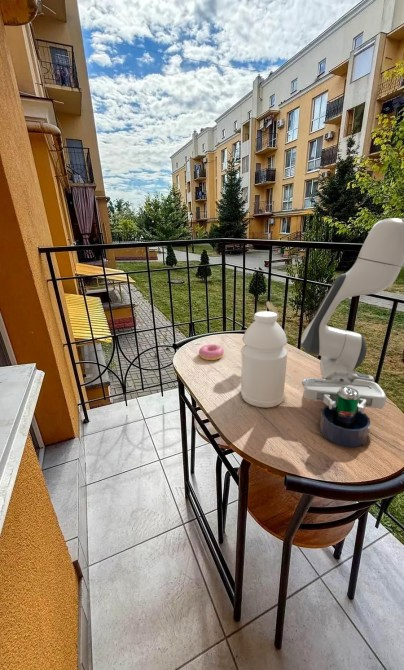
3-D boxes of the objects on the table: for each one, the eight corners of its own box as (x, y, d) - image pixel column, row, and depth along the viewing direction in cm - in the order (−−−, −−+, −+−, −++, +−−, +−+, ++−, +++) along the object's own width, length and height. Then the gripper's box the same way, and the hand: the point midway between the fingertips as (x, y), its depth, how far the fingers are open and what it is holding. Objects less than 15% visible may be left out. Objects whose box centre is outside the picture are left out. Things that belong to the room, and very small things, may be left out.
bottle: (289, 391, 94) (295, 310, 84) (277, 413, 83) (283, 323, 73) (249, 381, 101) (251, 305, 91) (233, 401, 90) (233, 317, 80)
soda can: (333, 435, 73) (340, 395, 68) (330, 422, 77) (336, 384, 73) (355, 437, 71) (362, 397, 67) (350, 425, 76) (357, 386, 72)
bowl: (355, 418, 79) (358, 403, 77) (375, 447, 69) (379, 431, 67) (314, 418, 80) (316, 403, 78) (328, 446, 70) (330, 430, 68)
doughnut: (220, 362, 116) (220, 353, 114) (195, 360, 119) (195, 351, 118) (226, 352, 125) (226, 343, 124) (203, 350, 129) (202, 341, 127)
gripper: (302, 369, 85) (304, 393, 73) (379, 376, 79) (395, 404, 67) (300, 387, 87) (302, 413, 75) (375, 395, 82) (389, 425, 69)
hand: (346, 409), depth 71 cm, fingers closed on soda can, 5 cm apart
